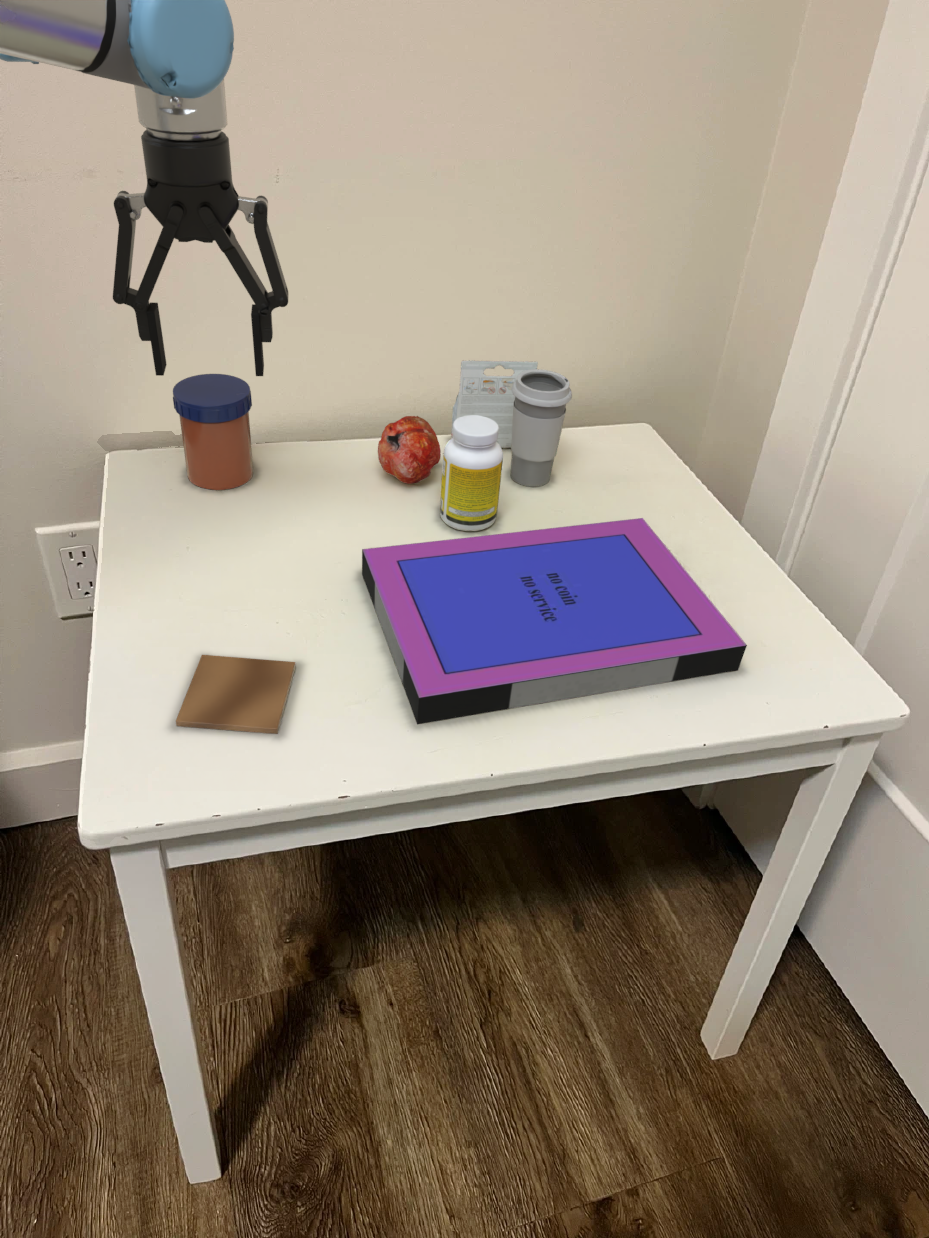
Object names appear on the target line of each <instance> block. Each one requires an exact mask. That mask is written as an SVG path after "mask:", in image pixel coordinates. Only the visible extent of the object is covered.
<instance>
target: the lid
mask: <svg viewBox="0 0 929 1238" xmlns="http://www.w3.org/2000/svg"><path fill="white" fill-rule="evenodd" d="M172 401H173V408H174V410H175V413H177V414H178V416H179V415H180V416H182V417H184V418H186V419H188V420H192V421H196V422H203V423H220V422H227V421H231V420H235V419H237V418H240V417H242V416H244V415H245V414H246V413H248V412H249V413H250V411H251V409H252V406H253V402H252V391H251V386H250V384H249V383H248V382H247V381H245V380H244V379H242V378H240V377H238V376H235V375H230V374H223V373H201V374H197V375H191V376H189V377H185V378H183V379H181V380H180V381H178V382H177V383H175V385H174V386H173V388H172ZM180 416H179V417H180Z"/></svg>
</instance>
